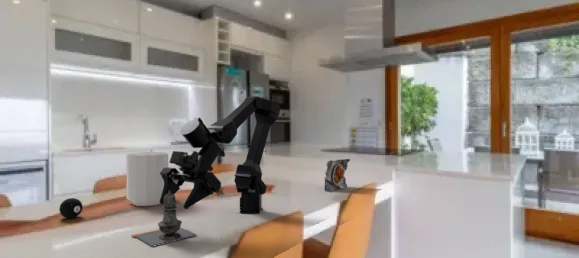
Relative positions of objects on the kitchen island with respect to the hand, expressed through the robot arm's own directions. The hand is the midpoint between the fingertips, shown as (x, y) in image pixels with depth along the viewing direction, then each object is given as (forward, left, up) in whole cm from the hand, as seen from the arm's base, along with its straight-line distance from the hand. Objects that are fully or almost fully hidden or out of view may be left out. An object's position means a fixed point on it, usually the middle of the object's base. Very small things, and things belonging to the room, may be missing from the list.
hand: (172, 205), depth 93 cm
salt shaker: (0, +1, -8) cm, 8 cm away
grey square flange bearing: (-41, -74, -9) cm, 85 cm away
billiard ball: (+40, -13, -9) cm, 43 cm away
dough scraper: (+2, 0, -8) cm, 9 cm away
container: (+29, -38, -9) cm, 48 cm away
